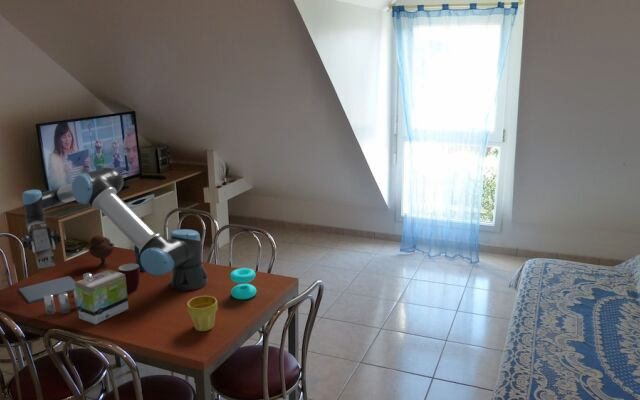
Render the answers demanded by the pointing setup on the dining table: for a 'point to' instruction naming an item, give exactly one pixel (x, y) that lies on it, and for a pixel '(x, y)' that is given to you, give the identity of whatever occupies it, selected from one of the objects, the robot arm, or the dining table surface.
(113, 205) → the robot arm
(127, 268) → the mug
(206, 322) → the plant pot
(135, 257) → the soda can
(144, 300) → the dining table surface
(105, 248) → the ice cream bowl
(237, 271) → the donuts
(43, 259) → the coffee box
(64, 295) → the posts
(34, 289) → the felt mat
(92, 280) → the tea box
